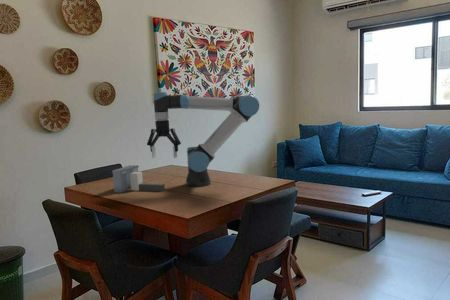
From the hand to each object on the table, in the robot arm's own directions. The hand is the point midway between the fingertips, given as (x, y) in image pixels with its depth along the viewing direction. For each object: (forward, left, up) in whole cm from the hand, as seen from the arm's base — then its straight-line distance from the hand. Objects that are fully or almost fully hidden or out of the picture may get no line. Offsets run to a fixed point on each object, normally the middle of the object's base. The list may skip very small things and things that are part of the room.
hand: (164, 157), depth 213 cm
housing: (+26, +1, -19) cm, 32 cm away
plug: (+12, +1, -19) cm, 22 cm away
